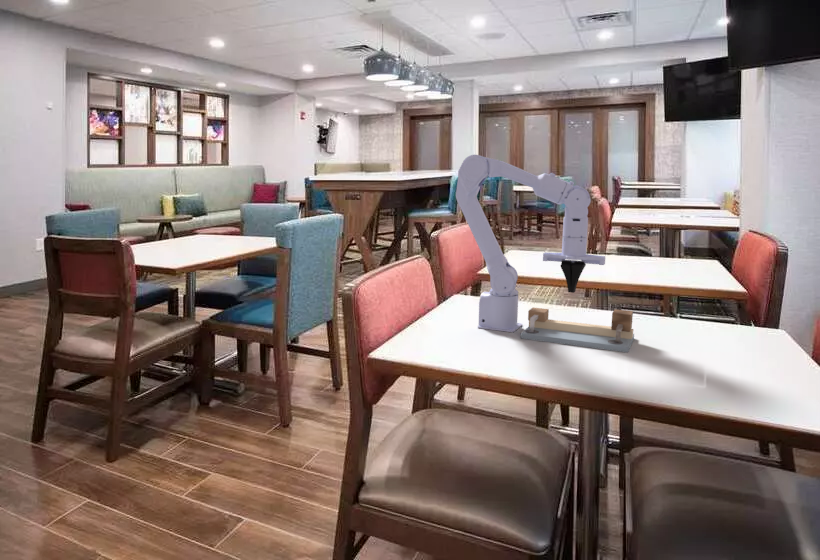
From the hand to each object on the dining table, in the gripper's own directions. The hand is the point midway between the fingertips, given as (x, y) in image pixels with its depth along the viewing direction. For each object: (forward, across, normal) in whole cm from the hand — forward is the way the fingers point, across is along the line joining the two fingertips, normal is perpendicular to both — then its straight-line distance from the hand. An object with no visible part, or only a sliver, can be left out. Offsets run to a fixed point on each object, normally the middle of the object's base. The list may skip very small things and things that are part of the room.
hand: (571, 291), depth 140 cm
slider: (+8, +12, -6) cm, 16 cm away
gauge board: (+10, +3, -6) cm, 12 cm away
